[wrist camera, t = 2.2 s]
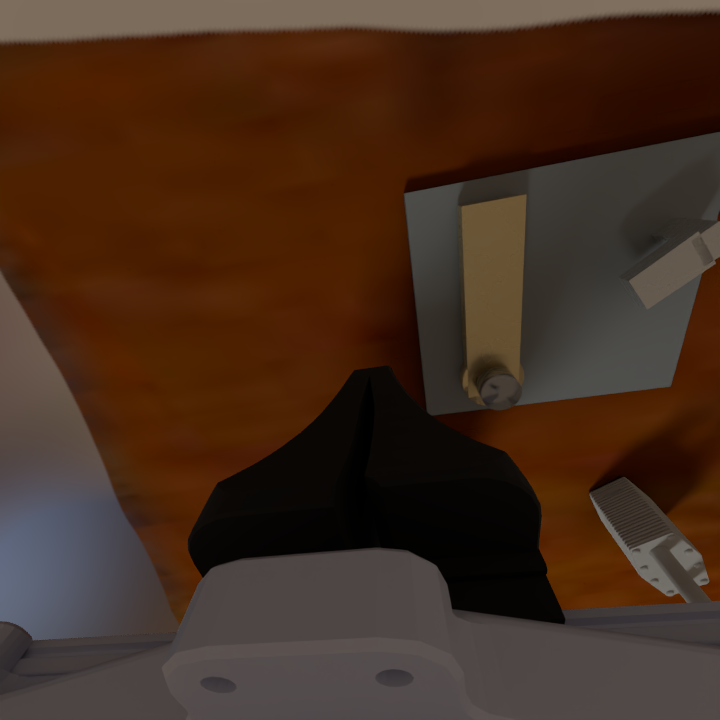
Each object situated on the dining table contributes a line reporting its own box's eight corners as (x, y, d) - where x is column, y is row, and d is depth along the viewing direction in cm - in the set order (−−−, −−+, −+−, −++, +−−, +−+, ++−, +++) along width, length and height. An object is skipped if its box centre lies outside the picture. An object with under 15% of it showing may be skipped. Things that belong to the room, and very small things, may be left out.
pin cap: (513, 396, 20) (521, 407, 19) (476, 400, 20) (482, 412, 19) (514, 364, 19) (523, 374, 18) (475, 369, 20) (481, 380, 18)
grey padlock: (579, 494, 27) (682, 645, 18) (630, 470, 26) (768, 620, 17) (617, 538, 29) (724, 692, 20) (664, 518, 28) (803, 673, 19)
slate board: (663, 381, 22) (670, 386, 21) (426, 410, 24) (427, 416, 23) (729, 129, 16) (742, 127, 15) (403, 193, 17) (404, 193, 17)
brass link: (516, 392, 22) (523, 401, 21) (460, 400, 22) (464, 408, 21) (524, 193, 16) (533, 193, 16) (450, 206, 17) (455, 207, 16)
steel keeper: (615, 295, 19) (647, 309, 17) (597, 270, 18) (628, 281, 16) (688, 243, 18) (734, 250, 15) (672, 214, 17) (717, 217, 15)
